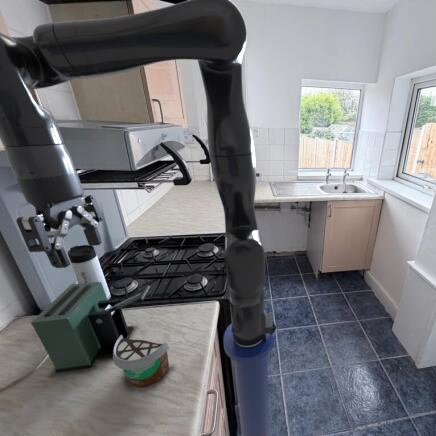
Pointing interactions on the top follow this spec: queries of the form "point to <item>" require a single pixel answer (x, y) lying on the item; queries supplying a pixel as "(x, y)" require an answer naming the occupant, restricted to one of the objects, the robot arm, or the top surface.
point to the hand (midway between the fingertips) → (81, 254)
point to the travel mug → (87, 266)
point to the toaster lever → (127, 301)
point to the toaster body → (71, 327)
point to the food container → (141, 360)
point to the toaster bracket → (109, 328)
